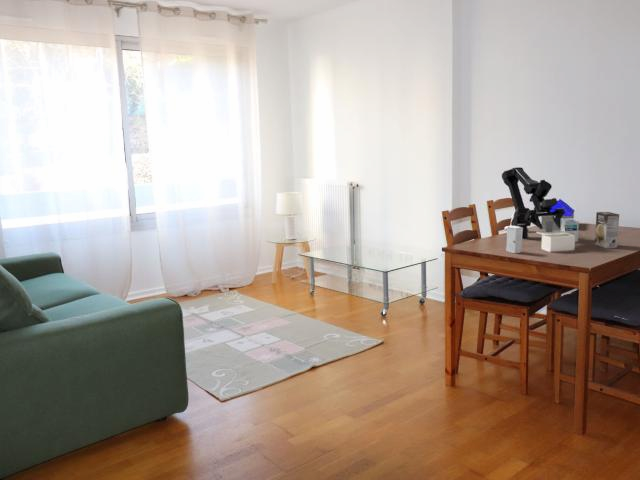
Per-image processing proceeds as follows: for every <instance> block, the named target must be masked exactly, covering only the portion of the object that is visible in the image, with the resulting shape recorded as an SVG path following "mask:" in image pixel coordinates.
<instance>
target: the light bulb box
mask: <svg viewBox="0 0 640 480" xmlns="http://www.w3.org/2000/svg"><path fill="white" fill-rule="evenodd" d="M579 222H580V221H578V220H577V219H575V218H574V219H564V218H561V230H560V231H563V232H567V233H570V235H573V236H575V243H579V229H580V228H579V226H580V225H579Z"/></svg>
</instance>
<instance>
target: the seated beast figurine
mask: <svg viewBox="0 0 640 480" xmlns="http://www.w3.org/2000/svg"><path fill="white" fill-rule="evenodd" d="M514 213H515V210H514V211H513V213H512V215H511V220H510V222H511V221H512V220H513V218H514ZM508 226H511V223H510V225H507V226H505V227H504V231H507V227H508Z"/></svg>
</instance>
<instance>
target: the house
mask: <svg viewBox="0 0 640 480" xmlns="http://www.w3.org/2000/svg"><path fill="white" fill-rule="evenodd" d="M557 202H558V203H557V204H556V205H555V206H553V207H552V209H551V210H550V212H554V210H555V209H557V208H563V209H564V210H565V213H564V215H563V216H562V218H564V219H575V218H574V217H575V209H574V208H572V207H571V206H570V205H569V204H568V203H566V202H565V201H564V200H562V199H561V198H560V199H558V200H557ZM553 220H554V219H553V218H552V216H545V217H541V221H540V222H541V225H542V229H541V230H546V221H553ZM560 225H561V219H560ZM553 230H557V231H561V227H560V228H558V227H557V225H556V224H555V222H554V221H553Z"/></svg>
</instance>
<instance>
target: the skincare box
mask: <svg viewBox="0 0 640 480" xmlns="http://www.w3.org/2000/svg"><path fill="white" fill-rule="evenodd" d="M507 226H508V227H507ZM507 226H506V227H507V232H506V248H505V251H506V252H508V253H512V254H519V253H522V249H523V247H522V245H523V238H522V234H523V227H519V226H510V225H507Z"/></svg>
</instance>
